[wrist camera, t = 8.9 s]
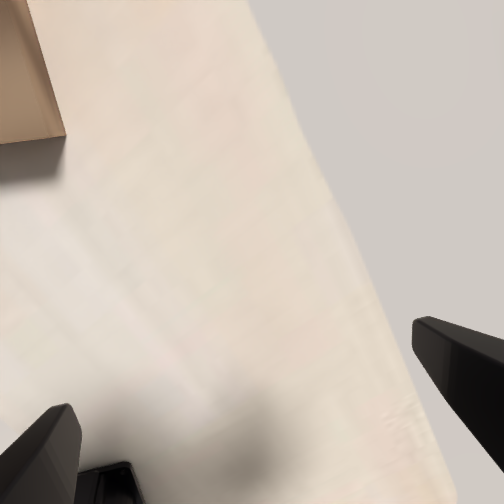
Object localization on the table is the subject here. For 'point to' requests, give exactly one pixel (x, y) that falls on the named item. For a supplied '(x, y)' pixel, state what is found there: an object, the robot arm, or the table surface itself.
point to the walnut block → (24, 80)
